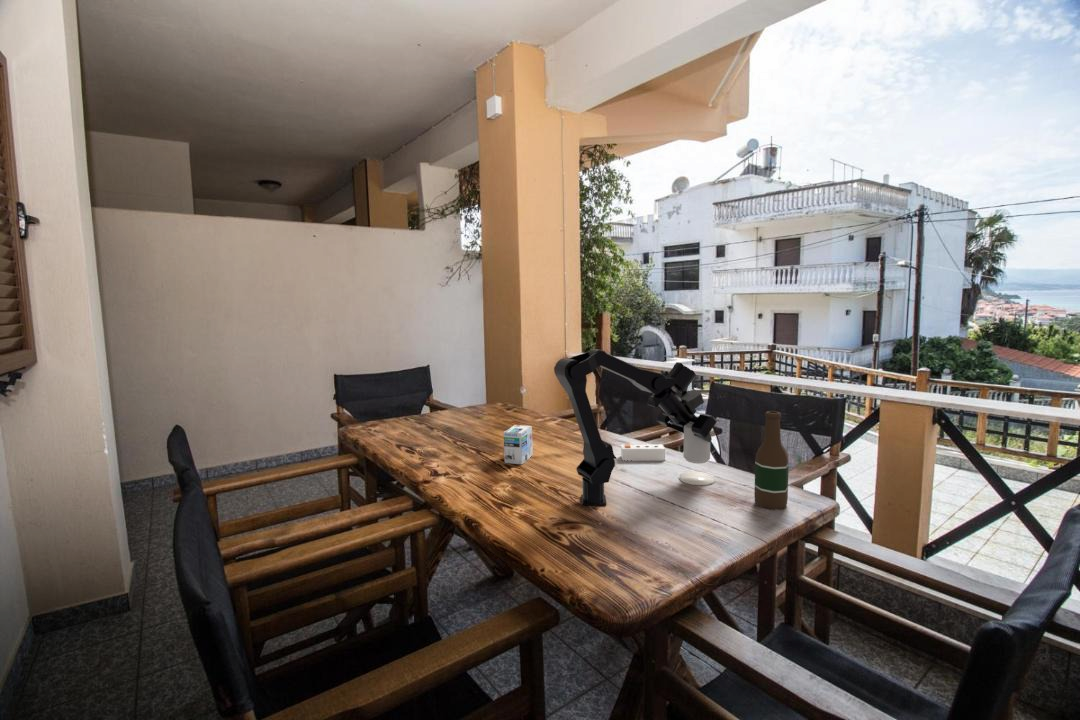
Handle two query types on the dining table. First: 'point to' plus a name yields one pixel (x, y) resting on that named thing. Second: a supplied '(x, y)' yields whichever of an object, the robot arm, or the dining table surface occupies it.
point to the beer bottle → (771, 467)
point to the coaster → (697, 478)
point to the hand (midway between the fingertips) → (700, 437)
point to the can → (695, 447)
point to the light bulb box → (518, 444)
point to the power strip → (643, 452)
